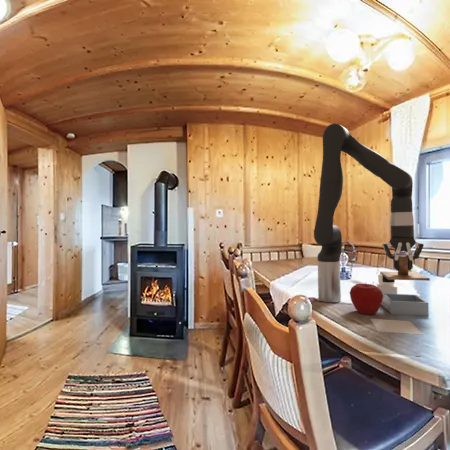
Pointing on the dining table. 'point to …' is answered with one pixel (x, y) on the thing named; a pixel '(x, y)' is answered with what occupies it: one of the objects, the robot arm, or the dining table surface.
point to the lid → (404, 272)
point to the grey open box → (405, 304)
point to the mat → (395, 326)
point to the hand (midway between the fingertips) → (403, 269)
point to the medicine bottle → (386, 285)
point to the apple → (366, 298)
